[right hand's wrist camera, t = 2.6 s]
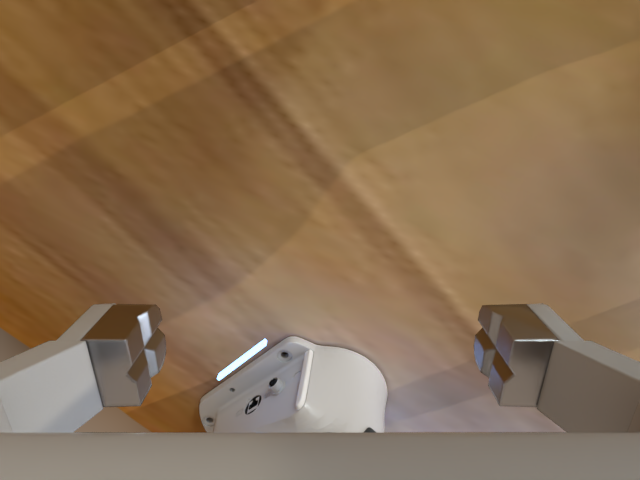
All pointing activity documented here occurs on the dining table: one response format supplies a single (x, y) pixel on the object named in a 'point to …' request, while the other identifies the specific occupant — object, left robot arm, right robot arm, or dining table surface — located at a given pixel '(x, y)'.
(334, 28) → the dining table surface
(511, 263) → the dining table surface
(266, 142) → the dining table surface
